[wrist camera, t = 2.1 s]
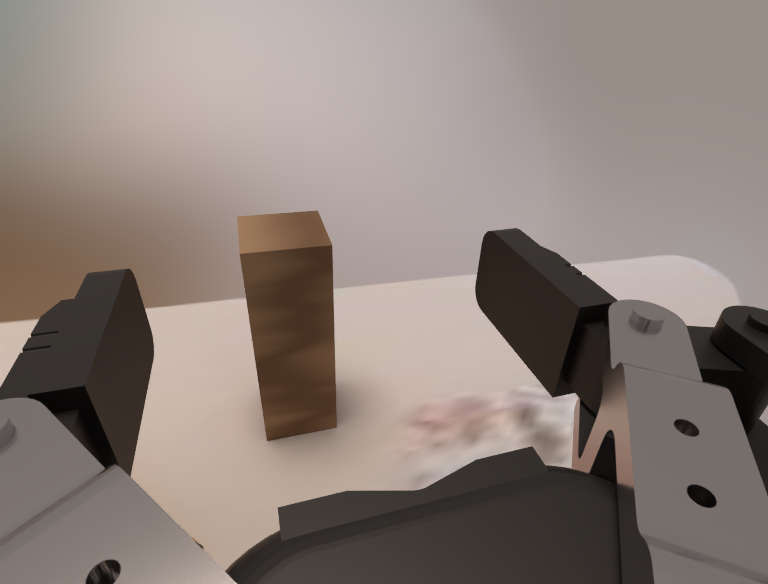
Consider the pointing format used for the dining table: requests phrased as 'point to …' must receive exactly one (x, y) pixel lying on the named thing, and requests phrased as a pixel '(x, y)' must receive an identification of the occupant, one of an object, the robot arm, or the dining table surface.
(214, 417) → the dining table surface
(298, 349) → the pillar
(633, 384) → the robot arm
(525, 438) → the dining table surface
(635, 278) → the dining table surface
